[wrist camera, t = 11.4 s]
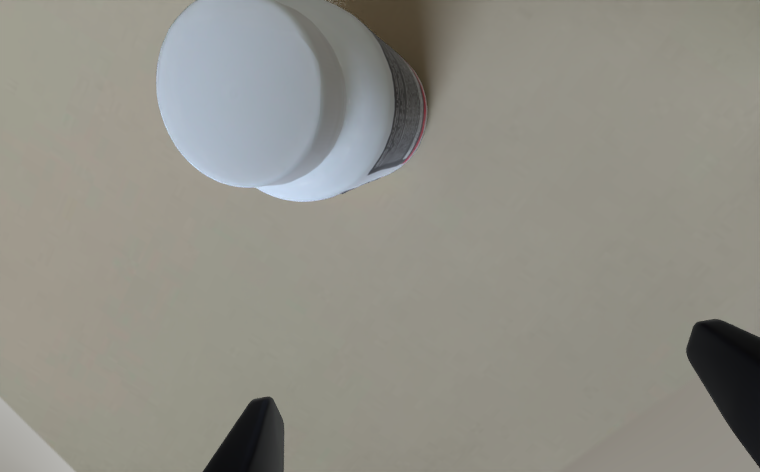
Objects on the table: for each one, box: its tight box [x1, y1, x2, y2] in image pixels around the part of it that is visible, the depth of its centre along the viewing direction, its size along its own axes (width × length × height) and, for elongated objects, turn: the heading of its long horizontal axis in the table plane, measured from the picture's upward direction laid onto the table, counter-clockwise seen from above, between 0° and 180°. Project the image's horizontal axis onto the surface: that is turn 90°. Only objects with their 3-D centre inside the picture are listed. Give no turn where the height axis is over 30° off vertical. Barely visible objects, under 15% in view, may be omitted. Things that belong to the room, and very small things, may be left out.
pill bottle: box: [156, 0, 427, 202], centre depth 13 cm, size 5×5×10 cm
